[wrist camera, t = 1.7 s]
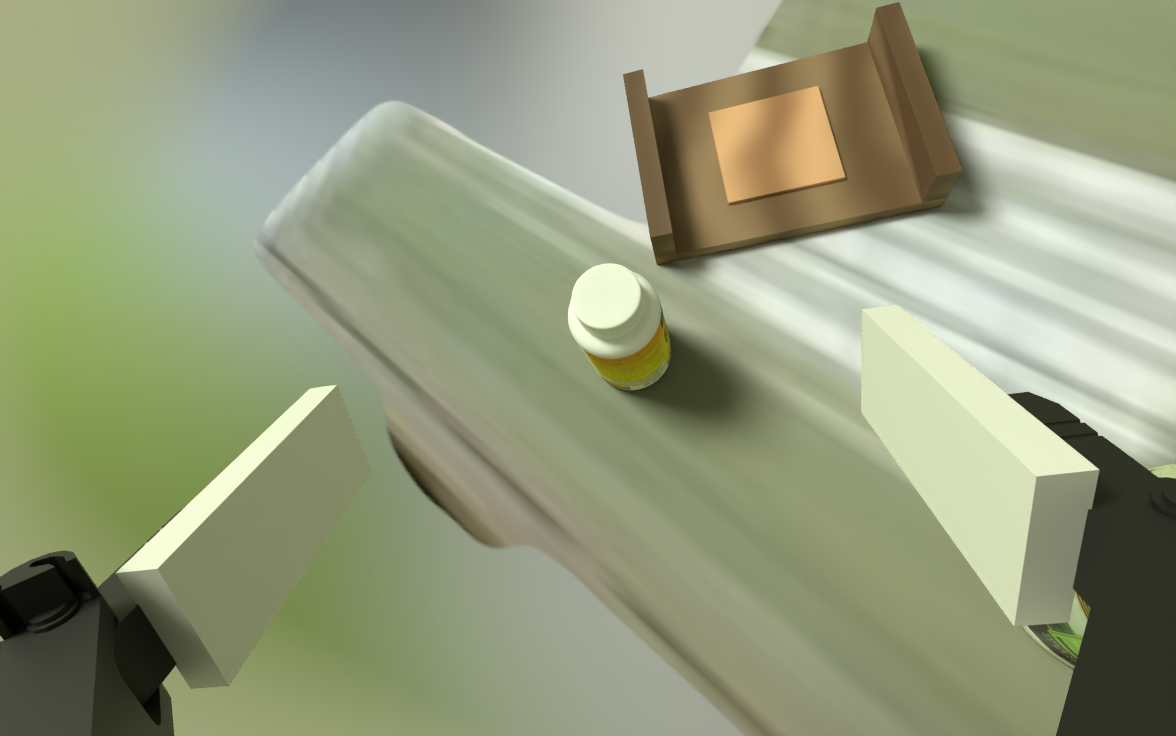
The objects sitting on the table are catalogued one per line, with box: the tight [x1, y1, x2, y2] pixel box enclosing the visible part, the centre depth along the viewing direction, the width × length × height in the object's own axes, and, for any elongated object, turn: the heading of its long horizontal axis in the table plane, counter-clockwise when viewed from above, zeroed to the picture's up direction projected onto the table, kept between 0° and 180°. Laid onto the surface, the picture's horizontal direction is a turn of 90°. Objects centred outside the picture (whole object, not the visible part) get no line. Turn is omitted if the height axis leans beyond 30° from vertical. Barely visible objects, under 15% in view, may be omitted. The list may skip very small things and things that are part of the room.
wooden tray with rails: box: [623, 2, 962, 264], centre depth 43 cm, size 20×14×4 cm
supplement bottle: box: [568, 264, 671, 390], centre depth 38 cm, size 6×6×10 cm
